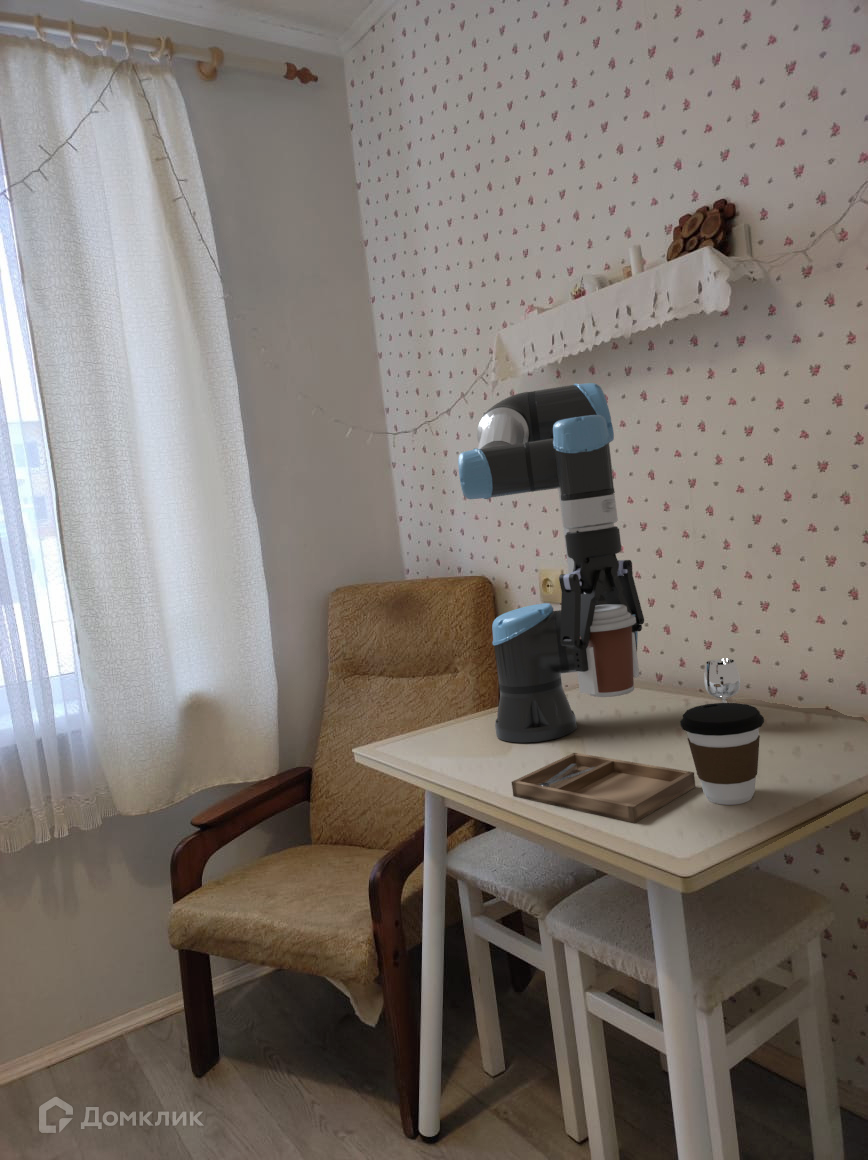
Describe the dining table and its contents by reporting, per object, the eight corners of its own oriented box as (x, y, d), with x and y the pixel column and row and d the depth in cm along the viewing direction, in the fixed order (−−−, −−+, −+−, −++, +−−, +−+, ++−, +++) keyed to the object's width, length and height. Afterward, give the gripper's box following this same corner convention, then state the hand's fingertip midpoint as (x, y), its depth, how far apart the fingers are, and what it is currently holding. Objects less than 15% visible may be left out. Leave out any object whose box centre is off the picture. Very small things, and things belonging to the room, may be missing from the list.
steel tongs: (553, 796, 131) (553, 789, 131) (528, 790, 135) (527, 783, 135) (598, 773, 138) (597, 766, 138) (573, 769, 142) (572, 762, 142)
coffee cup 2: (677, 790, 128) (668, 708, 127) (751, 778, 129) (742, 697, 128) (705, 817, 117) (696, 728, 116) (786, 804, 118) (777, 716, 117)
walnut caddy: (513, 795, 135) (511, 781, 135) (575, 765, 145) (574, 752, 145) (634, 823, 119) (632, 807, 118) (695, 787, 128) (693, 772, 128)
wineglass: (740, 724, 155) (733, 656, 154) (748, 733, 149) (741, 663, 148) (706, 727, 155) (699, 660, 154) (713, 737, 150) (706, 667, 149)
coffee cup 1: (594, 682, 134) (584, 604, 132) (652, 683, 129) (643, 601, 127) (568, 699, 126) (558, 615, 125) (630, 700, 121) (619, 613, 120)
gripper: (562, 536, 115) (583, 706, 117) (658, 516, 129) (675, 668, 132) (519, 539, 121) (540, 701, 123) (616, 520, 135) (633, 665, 137)
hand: (610, 684), depth 127 cm, fingers closed on coffee cup 1, 9 cm apart
